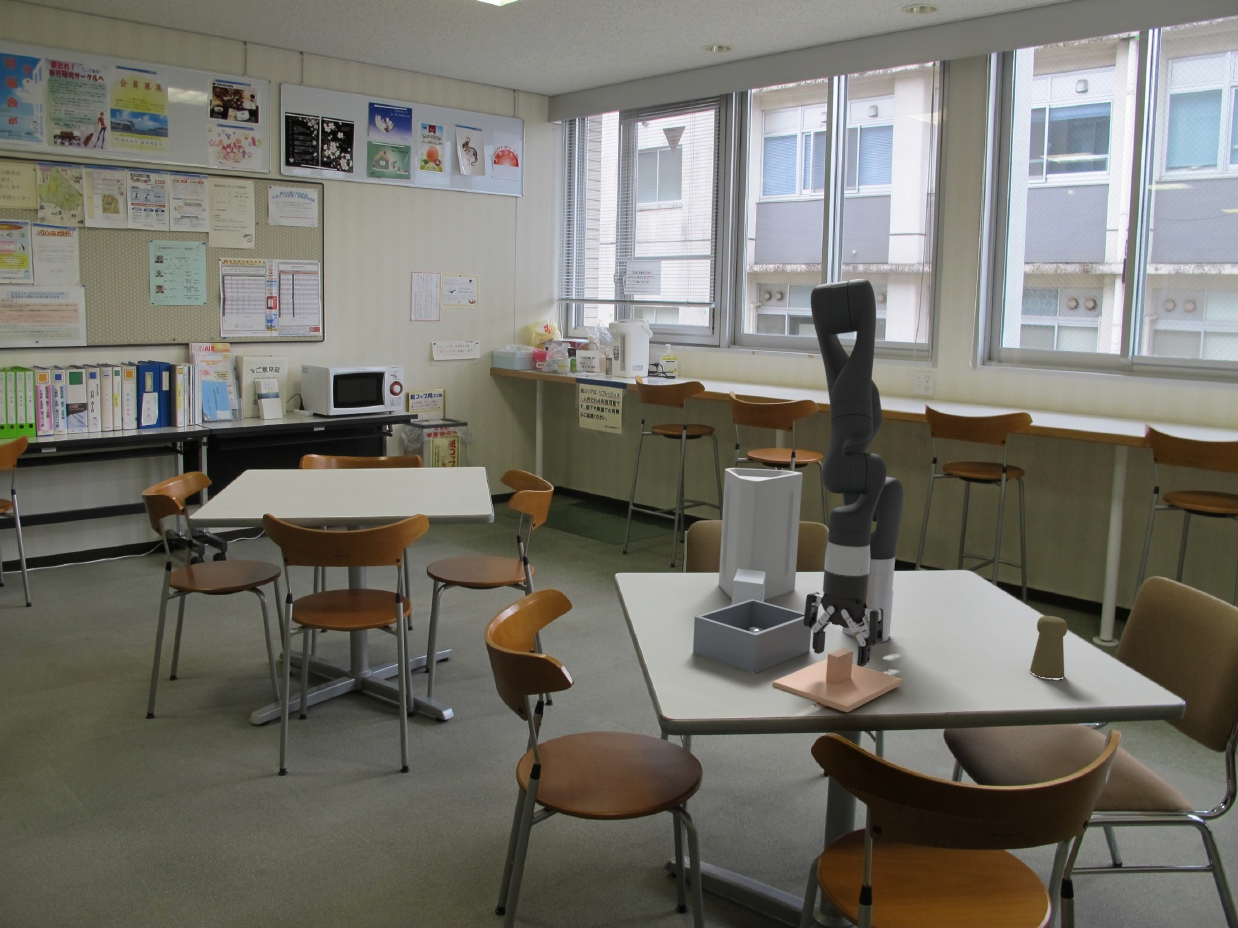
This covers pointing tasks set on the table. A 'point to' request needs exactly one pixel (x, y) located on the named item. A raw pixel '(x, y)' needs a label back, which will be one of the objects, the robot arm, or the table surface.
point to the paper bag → (760, 527)
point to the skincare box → (748, 586)
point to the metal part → (755, 629)
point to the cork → (1049, 648)
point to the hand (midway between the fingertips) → (840, 658)
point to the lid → (838, 682)
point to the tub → (751, 635)
